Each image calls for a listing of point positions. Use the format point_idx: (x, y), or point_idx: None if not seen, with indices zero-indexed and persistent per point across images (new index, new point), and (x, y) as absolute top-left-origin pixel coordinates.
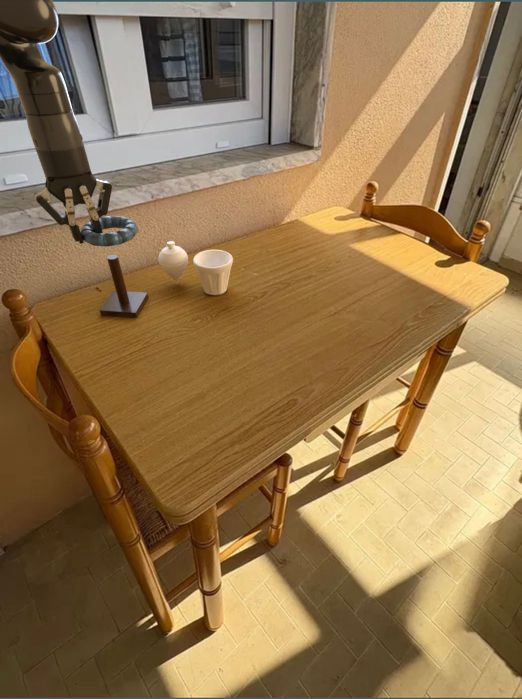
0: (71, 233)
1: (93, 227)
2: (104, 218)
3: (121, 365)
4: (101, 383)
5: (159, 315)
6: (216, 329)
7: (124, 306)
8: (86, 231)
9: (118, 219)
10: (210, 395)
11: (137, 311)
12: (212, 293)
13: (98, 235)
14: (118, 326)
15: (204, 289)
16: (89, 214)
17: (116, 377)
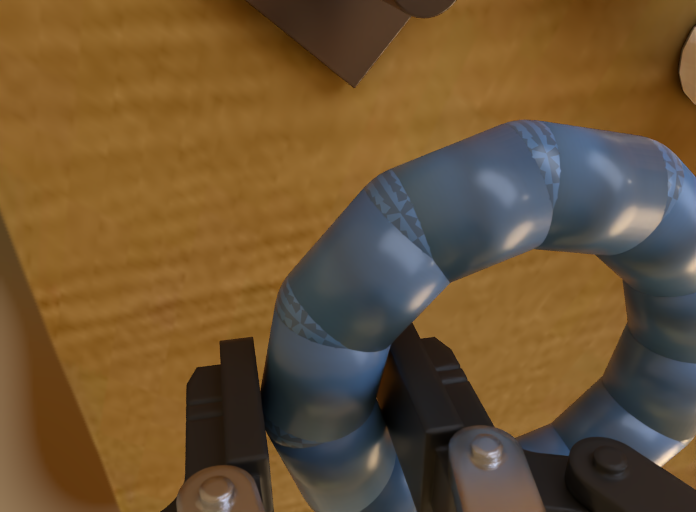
0: (187, 419)
1: (401, 444)
2: (581, 235)
3: (204, 331)
4: (124, 381)
5: (437, 114)
6: (552, 293)
7: (327, 4)
8: (324, 459)
9: (668, 293)
10: None
11: (367, 69)
12: (692, 100)
13: None
14: (255, 103)
15: (689, 63)
16: (451, 483)
17: (176, 374)
